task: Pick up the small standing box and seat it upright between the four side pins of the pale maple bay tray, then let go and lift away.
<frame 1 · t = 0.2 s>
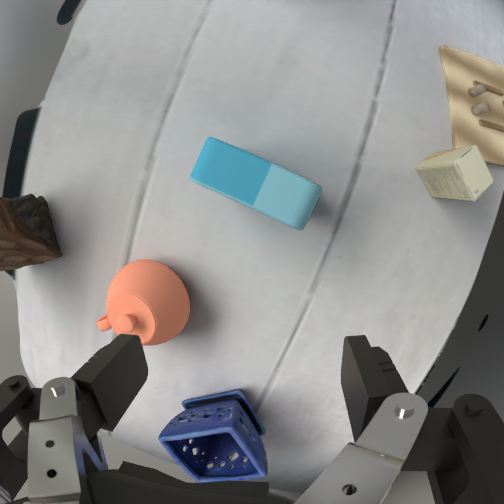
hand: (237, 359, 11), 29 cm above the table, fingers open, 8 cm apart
data package: (262, 182, 37), on the table
flower pot: (225, 411, 47), on the table
owl: (40, 235, 43), on the table
box: (431, 174, 35), on the table
sugar bowl: (152, 296, 43), on the table
bay tray: (485, 108, 30), on the table
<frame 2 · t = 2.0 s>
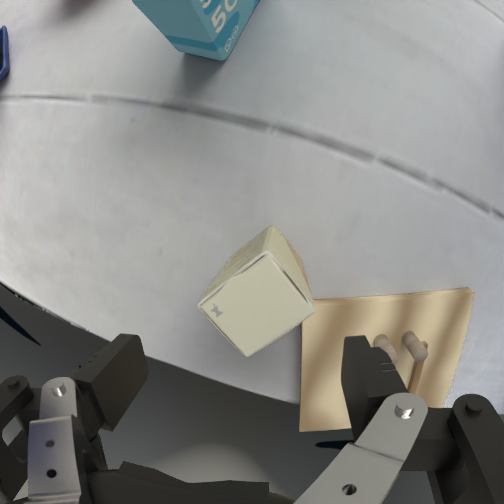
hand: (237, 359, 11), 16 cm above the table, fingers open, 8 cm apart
data package: (228, 14, 21), on the table
box: (266, 258, 26), on the table
bay tray: (384, 364, 27), on the table
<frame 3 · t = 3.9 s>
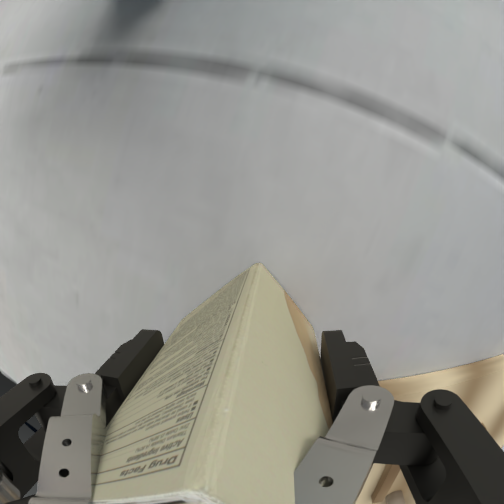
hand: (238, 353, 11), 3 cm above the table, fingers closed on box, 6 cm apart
box: (248, 321, 14), on the table, touching gripper
bay tray: (421, 450, 15), on the table
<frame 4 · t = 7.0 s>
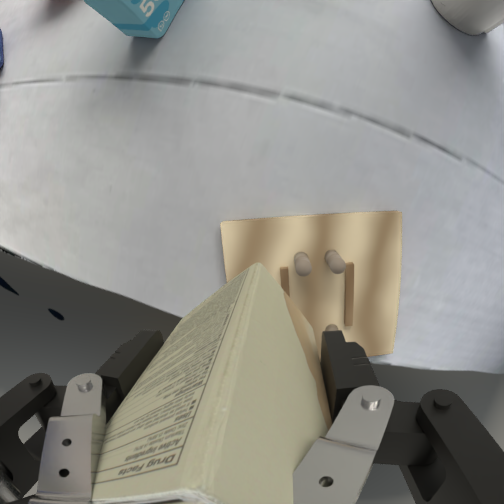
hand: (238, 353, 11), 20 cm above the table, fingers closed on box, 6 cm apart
data package: (167, 4, 25), on the table
box: (247, 320, 14), point 17 cm above the table, touching gripper
bay tray: (315, 291, 30), on the table
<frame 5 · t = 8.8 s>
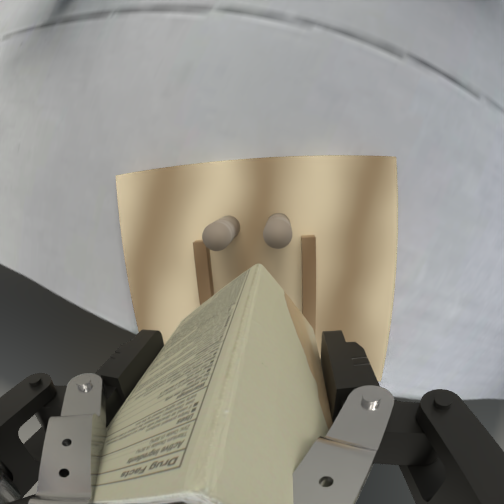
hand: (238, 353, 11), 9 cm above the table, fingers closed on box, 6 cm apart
box: (248, 321, 14), point 6 cm above the table, touching gripper
bay tray: (259, 281, 20), on the table
when the fingers open (6 cm above the table, at t = 10.4 s): box stays where it is, resting on bay tray.
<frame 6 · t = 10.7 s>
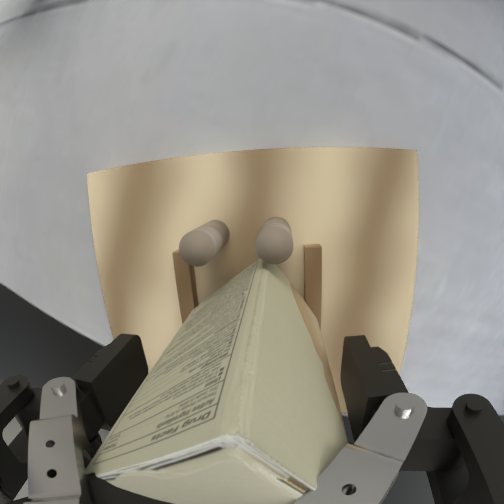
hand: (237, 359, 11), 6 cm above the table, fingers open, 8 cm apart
box: (255, 311, 15), point 2 cm above the table, touching bay tray
bay tray: (253, 297, 17), on the table
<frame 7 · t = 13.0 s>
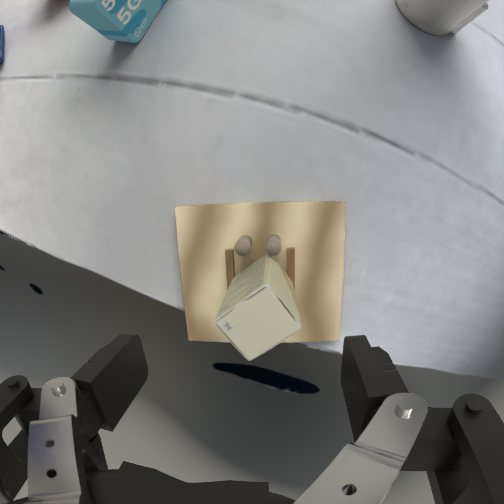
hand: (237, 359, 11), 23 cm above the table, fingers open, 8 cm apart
data package: (146, 11, 27), on the table
box: (263, 279, 31), point 2 cm above the table, touching bay tray
bay tray: (261, 274, 33), on the table
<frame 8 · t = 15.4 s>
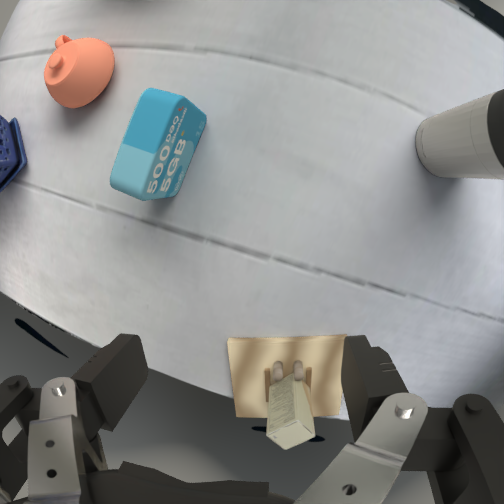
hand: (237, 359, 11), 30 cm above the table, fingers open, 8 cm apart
data package: (179, 151, 39), on the table
flower pot: (12, 155, 41), on the table
box: (290, 385, 43), point 2 cm above the table, touching bay tray
sugar bowl: (90, 73, 37), on the table
bay tray: (288, 378, 45), on the table
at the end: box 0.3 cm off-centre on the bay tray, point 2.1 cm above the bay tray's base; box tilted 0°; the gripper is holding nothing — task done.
